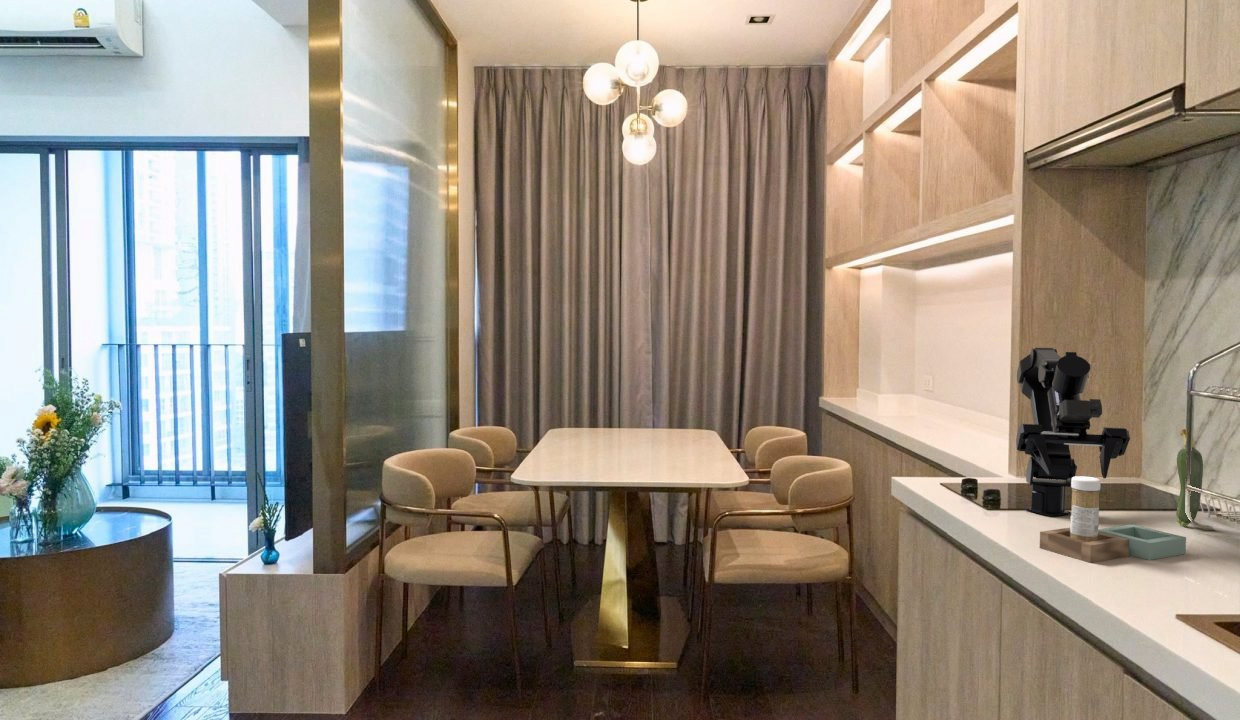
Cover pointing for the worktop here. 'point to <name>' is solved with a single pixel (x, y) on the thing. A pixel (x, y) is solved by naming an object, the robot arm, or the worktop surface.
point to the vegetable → (1194, 480)
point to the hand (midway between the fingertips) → (1077, 475)
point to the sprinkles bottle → (1085, 508)
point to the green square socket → (1149, 541)
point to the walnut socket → (1084, 545)
